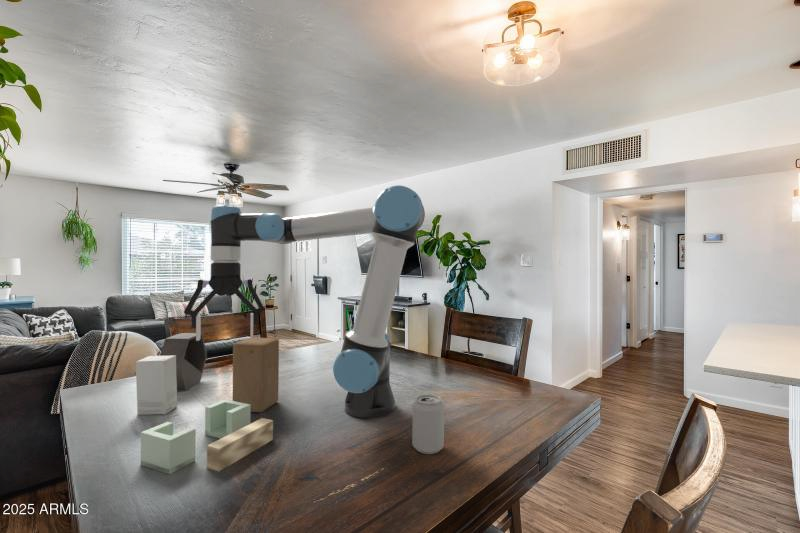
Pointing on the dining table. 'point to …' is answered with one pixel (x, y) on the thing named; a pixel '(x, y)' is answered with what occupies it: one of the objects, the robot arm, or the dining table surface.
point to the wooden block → (256, 372)
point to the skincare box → (156, 385)
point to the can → (428, 424)
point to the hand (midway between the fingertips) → (225, 338)
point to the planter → (186, 358)
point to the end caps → (190, 436)
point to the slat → (239, 444)
